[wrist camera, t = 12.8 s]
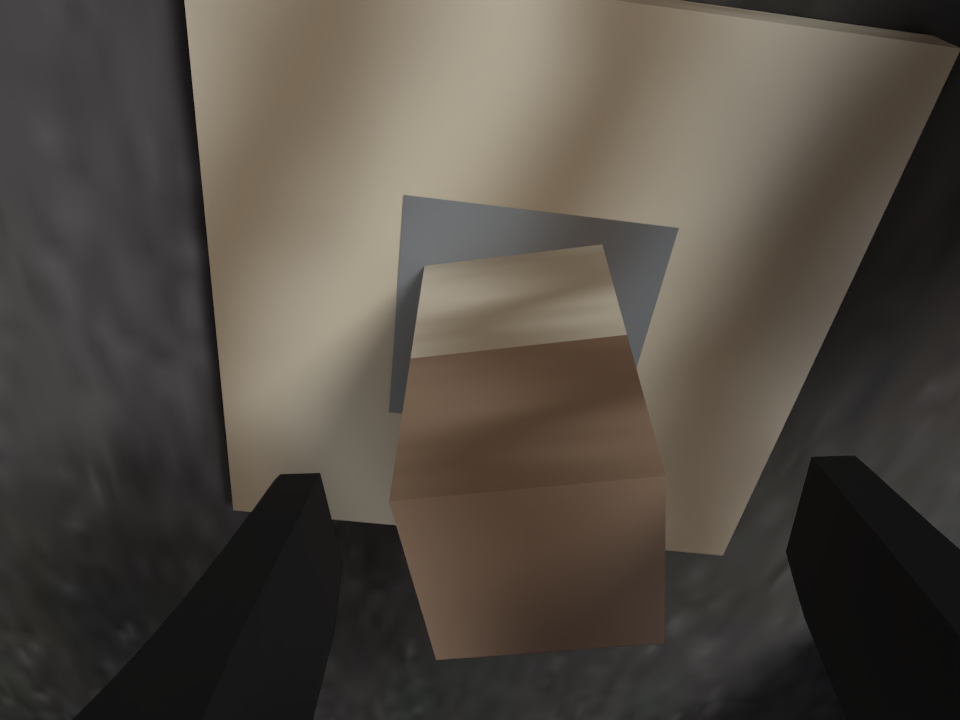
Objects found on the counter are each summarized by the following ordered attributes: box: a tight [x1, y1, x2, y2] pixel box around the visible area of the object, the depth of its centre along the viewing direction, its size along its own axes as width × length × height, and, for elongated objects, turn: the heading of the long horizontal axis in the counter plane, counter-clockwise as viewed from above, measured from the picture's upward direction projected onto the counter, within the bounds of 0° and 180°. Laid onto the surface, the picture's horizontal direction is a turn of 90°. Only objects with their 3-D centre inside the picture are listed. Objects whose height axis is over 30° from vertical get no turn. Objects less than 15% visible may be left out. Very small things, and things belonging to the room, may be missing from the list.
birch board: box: [184, 0, 960, 555], centre depth 20 cm, size 16×16×1 cm
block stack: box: [389, 245, 666, 660], centre depth 16 cm, size 4×4×8 cm
